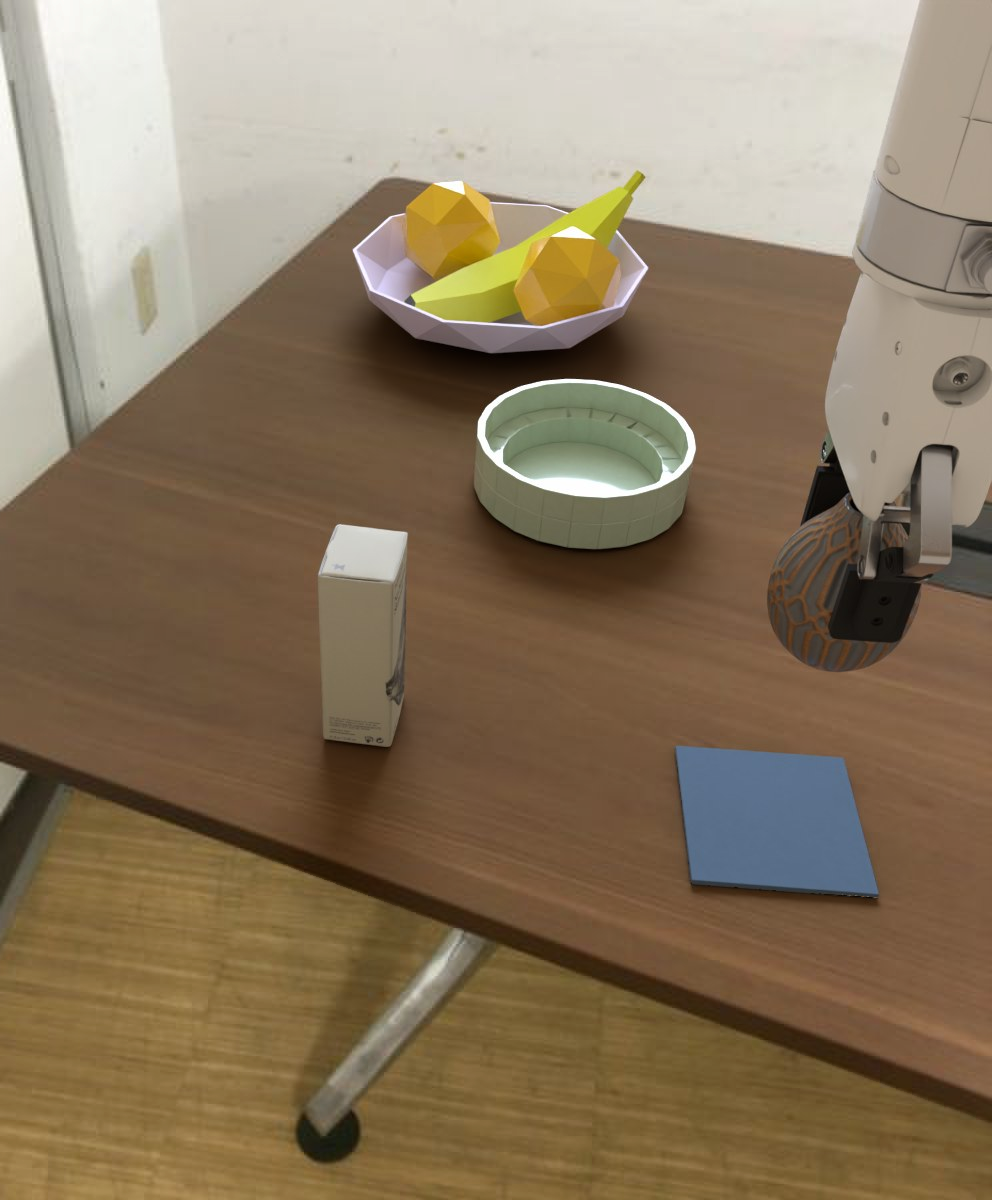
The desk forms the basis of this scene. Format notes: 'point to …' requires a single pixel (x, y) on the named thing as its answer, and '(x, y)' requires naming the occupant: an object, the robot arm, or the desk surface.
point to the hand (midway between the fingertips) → (846, 581)
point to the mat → (772, 822)
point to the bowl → (583, 463)
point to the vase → (824, 589)
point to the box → (363, 633)
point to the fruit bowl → (502, 269)
